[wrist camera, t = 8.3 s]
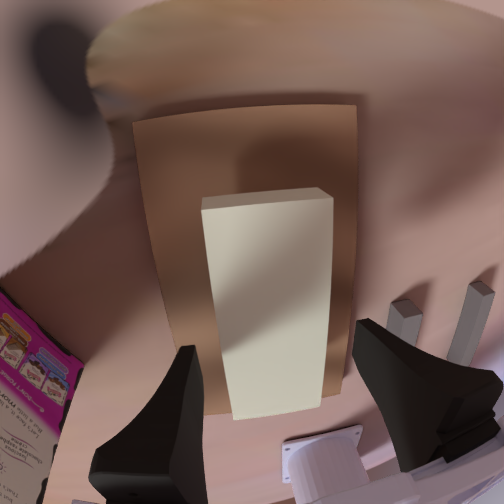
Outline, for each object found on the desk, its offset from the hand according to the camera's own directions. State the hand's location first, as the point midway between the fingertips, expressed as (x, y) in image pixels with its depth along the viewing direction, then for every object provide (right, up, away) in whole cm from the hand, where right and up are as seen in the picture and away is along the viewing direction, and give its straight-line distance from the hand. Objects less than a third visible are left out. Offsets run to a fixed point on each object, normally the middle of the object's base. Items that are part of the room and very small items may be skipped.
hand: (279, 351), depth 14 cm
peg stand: (-1, +2, +5) cm, 6 cm away
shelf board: (0, +1, +2) cm, 3 cm away
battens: (+14, -2, +9) cm, 17 cm away
